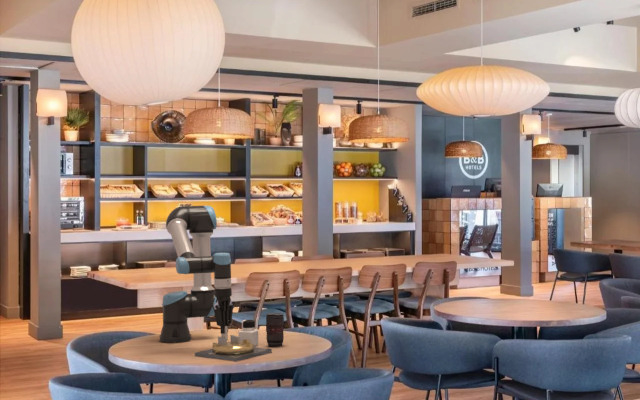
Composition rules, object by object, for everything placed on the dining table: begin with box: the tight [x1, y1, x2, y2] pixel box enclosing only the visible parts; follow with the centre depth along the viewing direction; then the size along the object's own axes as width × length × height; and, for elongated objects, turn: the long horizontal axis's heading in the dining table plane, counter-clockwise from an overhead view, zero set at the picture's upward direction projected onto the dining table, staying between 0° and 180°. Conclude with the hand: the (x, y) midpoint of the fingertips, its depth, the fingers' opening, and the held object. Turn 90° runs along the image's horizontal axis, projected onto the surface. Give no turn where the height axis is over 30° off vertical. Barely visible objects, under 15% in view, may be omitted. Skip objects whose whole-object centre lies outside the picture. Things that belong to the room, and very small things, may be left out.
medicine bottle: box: [238, 319, 259, 347], centre depth 426 cm, size 7×7×12 cm
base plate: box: [194, 346, 273, 362], centre depth 405 cm, size 24×24×2 cm
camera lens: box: [265, 312, 285, 348], centre depth 424 cm, size 8×8×15 cm
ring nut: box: [212, 334, 254, 354], centre depth 405 cm, size 18×18×5 cm
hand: (224, 340), depth 409 cm, fingers closed
